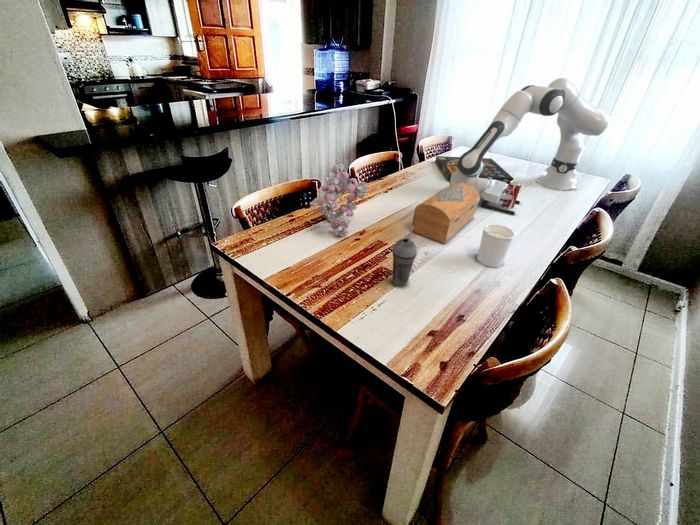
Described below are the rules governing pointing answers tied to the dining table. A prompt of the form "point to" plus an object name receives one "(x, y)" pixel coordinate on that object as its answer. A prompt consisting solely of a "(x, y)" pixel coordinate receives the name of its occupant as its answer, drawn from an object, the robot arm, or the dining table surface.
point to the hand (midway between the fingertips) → (513, 195)
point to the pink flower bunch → (334, 192)
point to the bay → (498, 208)
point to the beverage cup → (403, 260)
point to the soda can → (512, 190)
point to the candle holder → (494, 244)
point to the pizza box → (489, 170)
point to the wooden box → (446, 212)
